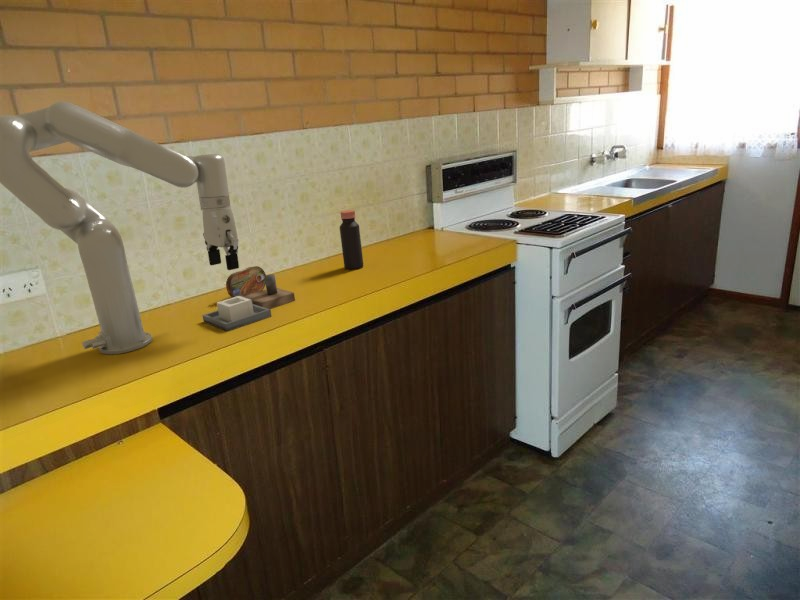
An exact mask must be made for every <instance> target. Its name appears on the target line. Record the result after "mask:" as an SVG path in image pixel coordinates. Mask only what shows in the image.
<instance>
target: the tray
mask: <svg viewBox="0 0 800 600" xmlns="http://www.w3.org/2000/svg"><path fill="white" fill-rule="evenodd" d="M252 305H253V311H254V314H253V315H250V316H247V317H244V318H241V319H238V320H235V321H232V322H229V321H227V320H224V319H221V318H220V317H219V312H218V309H217V310H214V311H211V312H208V313H205V314H202V316H201V317H202V320H203V323H205V324H208V325H209V326H212V327H216V328H217V329H220V330H221V331H222V330H223V331H225V332H230V331H233V330H235V329H239V328H241V327H245V326H248V325H250V324H254V323H256V322H259V321H262V320H266V319H267V318H271V317H272V312H271V310H272V309H267V308H264V307H261V306H258V305H255V304H252Z"/></svg>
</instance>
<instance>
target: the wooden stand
mask: <svg viewBox="0 0 800 600" xmlns="http://www.w3.org/2000/svg"><path fill="white" fill-rule="evenodd" d="M264 277H265V283H266V285H265V288H266V289H263V290H262V291H260V292H257V293H253V294H250V295H247V296H244V298H247V299H251V300H252V304H255V305H258V306H261V307H264V308H267V309H270V310H272V309H274V308H276V307H279V306H283V305H286V304H289V303H291V302H292V303H293V302H294V301H296V299H295V298H296V297H295V292H294V291H291V290H290V291H289V290H286V289H282V288H278V287H277V281H276V275H275V274H273V273H272V274H271V273H269V274H266V276H264Z"/></svg>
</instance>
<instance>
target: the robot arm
mask: <svg viewBox="0 0 800 600" xmlns="http://www.w3.org/2000/svg"><path fill="white" fill-rule="evenodd" d="M63 143H70V144H72V145H75V146H77V147H78V148H79V147H80V148H82V149H84V150H86V151H89V152H91V153H94V154H96V155H99V157H103V158H105V159H107V160H108V161H109V160H110V161H112V162H115V163H117V164H118V165H121V166H126V167H129V168H133V169H135V170H137V171H140V172H143V173H145V174H148V175H149V176H152V177H154V178H156V179H160V180H161V181H164V182H166V183H168V184H169V185H170V184H171V185H173V186H174V187H177V188H182V189H183V188H188V187H192V186H193V185H194V184H195V183H196V186H197V193H198V199H199V206H200V211H202V224H203V234H202V236H203V239H204V244H205V245H206V251H207V255H208V262H209V266H216V265H221V264H222V258H221V251H220V249H219V248H223V250H224V252H225V255H224V256H225V264H226V270H228V271H231V270H233V271H234V270H237V269H239V268H240V264H239V257H238V254H239V238H238V233H237V228H236V222H235V218H234V215H233V212H232V211H233V210H232V208H231V200H230V195H229V193H230V191H229V186H228V179H227V178H228V177H227V171H226V164H225V159H224V157H223V156H222V155H221V154H219V153H215V154H214V153H211V154H209V153H207V154H198V155H196V156H187V155H186V156H185V155H183V154H181V153H179V152H177V151H175V150H172V149H170V148H169V147H166V146H164V145H161V144H160V143H157V142H155V141H153V140H150V139H148V138H146V137H144V136H142V135H141V134H139V133H137V132H135V131H133V130H131V129H130V128H127V127H125V126H123V125H121V124H118V123H116V122H114V121H112V120H110V119H108V118H106V117H103V116H101V115H99V114H97V113H94V112H93V111H90V110H88V109H86V108H83V107H81V106H79V105H77V104H74V103H73V102H70V101H56V102H54V103H52V104H50V106H47V107H45V108H41V109H38V110H34V111H29V112H26V113H25V112H24V113H20V114H17V115H10V114H1V115H0V184H1V185H2V186H3V187H4V188H5V189H6V190H7V191H9V192H10V193H11V194H12V195H14V196H15V197H16V198H17V199H18V200H19V201H21V203H22V204H23V205H25V206H26V208H28V209H29V210H30V211H32V212H33V213H34V214H35V215H36V216H37V217H39V218H40V219H41V221H43V222H44V223H45V224H46V225H47V226H49V227H51V228H53V229H55V230H57V231H61V232H63V234H65V235H66V236H67V237H68V238H69V239H70V240H72V241H73V242H74V243H75V244H77V248H78V251H79V252H78V253H79V257H80V259H81V263H82V265H83V269H84V273H85V276H86V279H87V283H88V287H89V291H90V294H91V298H92V301H93V306H94V310H95V312H96V316H97V320H98V324H99V327H100V331H99V332H97V334H98V335H97V336H96V335H95V338H92V339H88V340H84V341H82V343H81V344H82V346H83V349H84V350H86V349H90V348H92V350H93V349H96V348H98V351H99V352H100V353H101V354H104V355H119V354H124V353H129V352H133V351H136V350H138V349H141V348H143V347H145V346H147V345H149V344H150V343H151V342H152V341H153V336H152V334H151V332H146V331H144V326H143V322H142V318H141V313H140V311H139V306H138V305H139V304H138V301H137V297H136V293H135V290H134V285H133V282H132V278H131V273H130V268H129V265H128V260H127V256H126V252H125V245H124V242H123V238H122V236H121V234H120V232H119V230H118V228H117V227H116V226H115V225H114V224H113V223H112V222H111V221H109V220H108V219H107V218H106V217H105V216H104V215H103V214H102V213H100V212H99V210H97V209H96V208H95V207H94V206H92V205H91V203H89V201H87V200H86V199H85V198H83V197H82V196H81V195H80V194H78V193H77V192H75V191H74V190H72V189H70V188H67V187H64V186H63V185H61V184H60V183H59V182H58V181H57V180H56V179H54V178H53V177H52V176H51V175H50V174H49V173H48V171H46V170H45V169H44V168H42V167H41V166H40V165H39V164H37V163H36V162H35V160H33V158H32V156H31V154H30V153H32V152H35V151H39V150H42V149H47V148H50V147H54V146H57V145H61V144H63Z"/></svg>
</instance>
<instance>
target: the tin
mask: <svg viewBox="0 0 800 600" xmlns="http://www.w3.org/2000/svg"><path fill="white" fill-rule="evenodd" d="M266 275H267V274H266V272H265V270H264V269H263V268H262V267H260V266H257V265H255V266H249V267H246V268H244V269H241V270H239V271H235V272H232V273H231V274H229V275H228V277H227V279H226V283H225V286H226V287H225V288H226V292H227V294H228V295H229V297H231V298H233V297H236V296H241V297H244V296H247V295H250V294H253V293H257V292H260V291H263V290H265V289H264V288H266V283H265V277H264V276H266Z"/></svg>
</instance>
